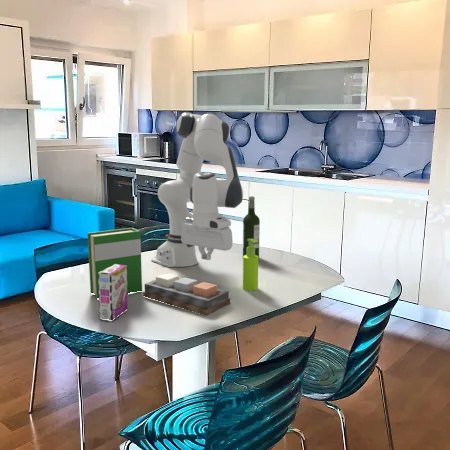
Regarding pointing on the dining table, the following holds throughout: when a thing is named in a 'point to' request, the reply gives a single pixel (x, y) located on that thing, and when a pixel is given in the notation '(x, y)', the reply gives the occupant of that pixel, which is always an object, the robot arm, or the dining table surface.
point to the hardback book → (115, 256)
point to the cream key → (166, 280)
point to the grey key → (185, 284)
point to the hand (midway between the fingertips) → (206, 259)
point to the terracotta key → (205, 289)
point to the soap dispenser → (250, 268)
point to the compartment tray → (187, 298)
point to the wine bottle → (251, 227)
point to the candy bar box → (113, 291)
